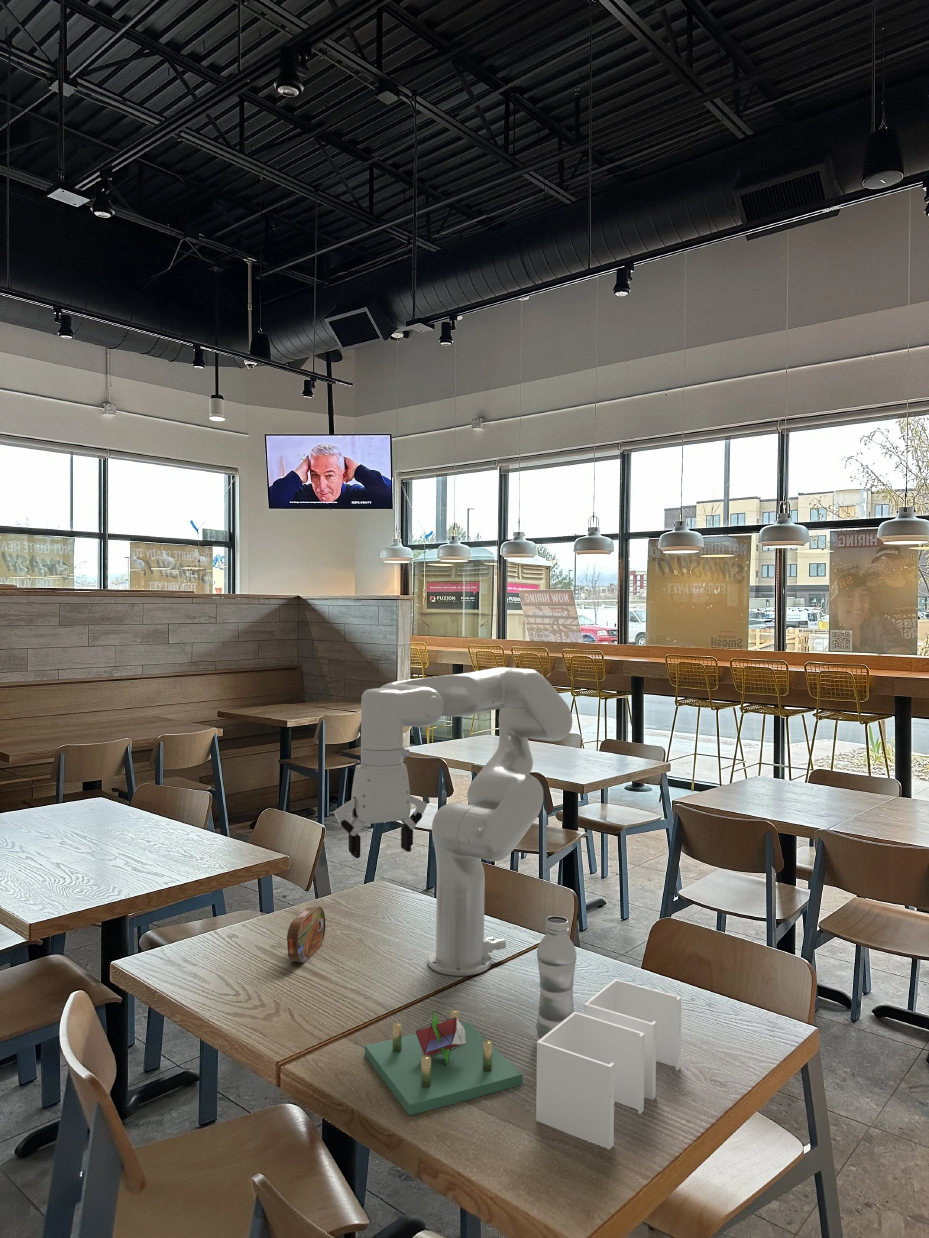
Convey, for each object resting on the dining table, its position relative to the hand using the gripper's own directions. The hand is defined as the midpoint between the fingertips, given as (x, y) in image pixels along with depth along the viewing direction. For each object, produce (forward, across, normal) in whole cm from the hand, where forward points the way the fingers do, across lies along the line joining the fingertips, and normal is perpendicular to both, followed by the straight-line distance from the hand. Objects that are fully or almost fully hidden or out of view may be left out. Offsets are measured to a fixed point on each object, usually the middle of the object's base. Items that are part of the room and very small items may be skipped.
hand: (381, 853), depth 152 cm
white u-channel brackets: (+27, -20, +42) cm, 54 cm away
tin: (+27, +6, -26) cm, 38 cm away
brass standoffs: (+25, 0, +26) cm, 36 cm away
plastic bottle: (+26, -20, +27) cm, 43 cm away
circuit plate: (+26, 0, +26) cm, 37 cm away
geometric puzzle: (+25, 0, +26) cm, 36 cm away
